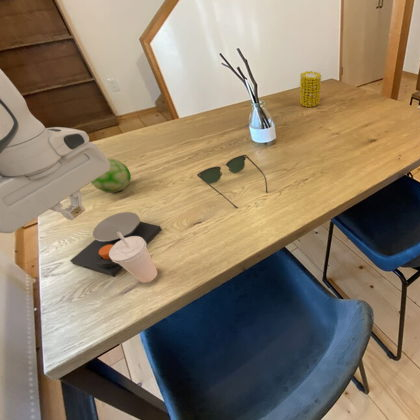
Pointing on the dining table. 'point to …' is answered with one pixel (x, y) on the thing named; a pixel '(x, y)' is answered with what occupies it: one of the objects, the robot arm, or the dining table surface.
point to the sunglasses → (234, 166)
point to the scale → (91, 253)
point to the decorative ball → (113, 177)
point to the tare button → (105, 252)
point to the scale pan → (116, 227)
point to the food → (310, 88)
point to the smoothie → (134, 257)
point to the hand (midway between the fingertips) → (76, 214)
